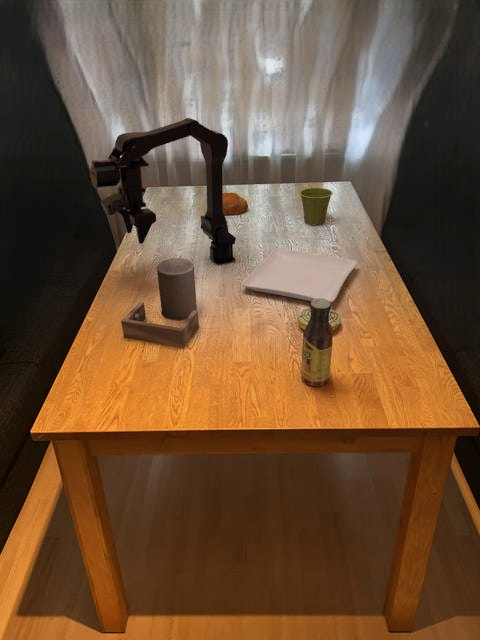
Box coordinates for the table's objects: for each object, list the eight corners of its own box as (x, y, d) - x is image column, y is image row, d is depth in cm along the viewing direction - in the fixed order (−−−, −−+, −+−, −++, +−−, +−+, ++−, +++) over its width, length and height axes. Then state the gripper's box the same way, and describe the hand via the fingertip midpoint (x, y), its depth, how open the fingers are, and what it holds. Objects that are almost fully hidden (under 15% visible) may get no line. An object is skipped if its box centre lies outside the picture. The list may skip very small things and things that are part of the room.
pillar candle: (154, 316, 141) (148, 266, 133) (172, 299, 149) (167, 250, 140) (187, 323, 138) (183, 272, 130) (203, 305, 145) (200, 256, 137)
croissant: (246, 221, 203) (249, 202, 199) (206, 217, 202) (207, 197, 198) (246, 207, 215) (249, 188, 211) (208, 203, 214) (210, 184, 210)
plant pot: (336, 219, 196) (338, 190, 190) (322, 230, 188) (324, 199, 182) (307, 214, 202) (308, 185, 196) (292, 224, 193) (293, 194, 187)
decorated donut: (348, 324, 135) (349, 312, 133) (323, 343, 129) (324, 330, 127) (314, 311, 141) (315, 299, 139) (289, 327, 135) (290, 315, 133)
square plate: (358, 270, 161) (359, 258, 159) (332, 313, 141) (333, 300, 139) (275, 256, 172) (275, 245, 169) (239, 294, 151) (239, 282, 149)
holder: (142, 318, 140) (139, 301, 138) (199, 327, 136) (197, 310, 133) (123, 337, 133) (121, 321, 130) (183, 348, 128) (182, 331, 125)
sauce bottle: (298, 371, 119) (301, 294, 108) (325, 369, 119) (331, 292, 109) (303, 390, 113) (307, 310, 103) (332, 387, 114) (339, 308, 103)
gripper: (91, 178, 146) (97, 232, 154) (114, 196, 132) (119, 254, 140) (129, 174, 151) (133, 226, 159) (155, 191, 137) (158, 247, 145)
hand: (135, 238), depth 151 cm, fingers open, 9 cm apart
